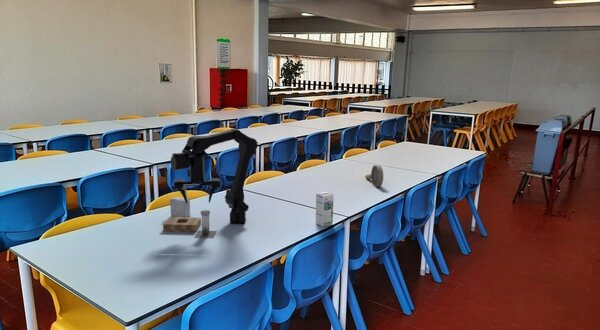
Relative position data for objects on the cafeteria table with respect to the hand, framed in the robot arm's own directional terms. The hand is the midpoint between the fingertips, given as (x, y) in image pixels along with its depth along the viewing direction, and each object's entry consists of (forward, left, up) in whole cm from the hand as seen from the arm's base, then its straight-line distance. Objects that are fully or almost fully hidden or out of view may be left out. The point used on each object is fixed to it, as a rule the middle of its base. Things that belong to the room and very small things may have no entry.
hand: (198, 203), depth 185 cm
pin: (-4, +4, -13) cm, 14 cm away
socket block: (+8, -3, -13) cm, 15 cm away
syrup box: (-54, -13, -13) cm, 57 cm away
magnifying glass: (-88, -86, -13) cm, 124 cm away
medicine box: (+13, -18, -13) cm, 26 cm away
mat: (-4, +4, -13) cm, 14 cm away
